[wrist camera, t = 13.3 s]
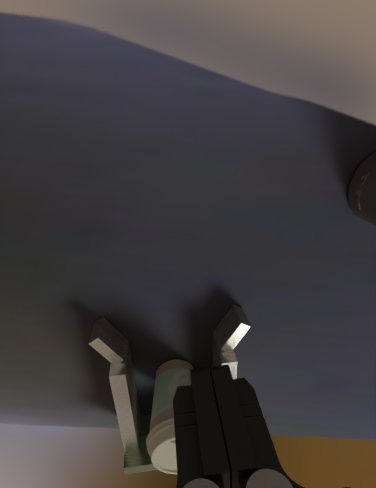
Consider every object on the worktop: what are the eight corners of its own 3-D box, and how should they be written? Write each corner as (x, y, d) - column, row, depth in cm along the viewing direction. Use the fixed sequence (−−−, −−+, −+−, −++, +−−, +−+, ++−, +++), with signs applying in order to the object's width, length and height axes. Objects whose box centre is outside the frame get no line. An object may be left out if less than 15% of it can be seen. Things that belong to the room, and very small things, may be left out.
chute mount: (242, 303, 42) (261, 344, 35) (237, 406, 51) (251, 456, 44) (93, 317, 40) (80, 364, 33) (115, 421, 49) (109, 476, 42)
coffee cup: (212, 375, 47) (231, 456, 36) (167, 400, 48) (172, 485, 38) (183, 342, 44) (194, 421, 33) (135, 370, 45) (130, 455, 34)
